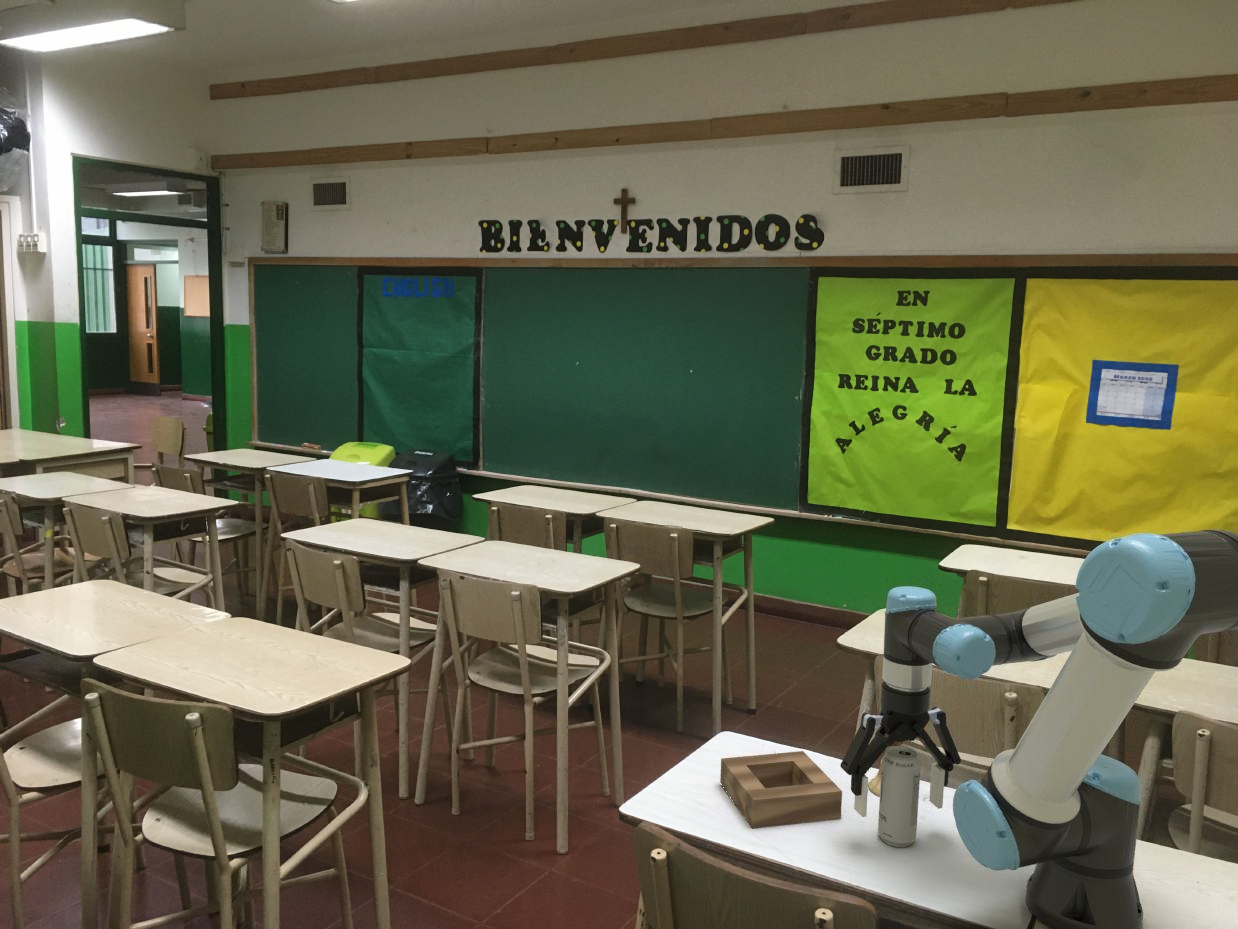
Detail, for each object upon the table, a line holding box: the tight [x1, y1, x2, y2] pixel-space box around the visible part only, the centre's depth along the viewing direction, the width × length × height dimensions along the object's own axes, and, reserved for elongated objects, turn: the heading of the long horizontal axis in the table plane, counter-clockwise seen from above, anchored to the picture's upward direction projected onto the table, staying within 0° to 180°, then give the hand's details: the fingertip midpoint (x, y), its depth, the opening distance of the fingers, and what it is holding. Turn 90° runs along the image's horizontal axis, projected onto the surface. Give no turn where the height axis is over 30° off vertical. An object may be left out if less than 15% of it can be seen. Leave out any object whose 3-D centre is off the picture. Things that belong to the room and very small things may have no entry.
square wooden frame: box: [719, 750, 843, 829], centre depth 170 cm, size 16×16×5 cm
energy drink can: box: [877, 745, 922, 848], centre depth 157 cm, size 6×6×15 cm
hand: (898, 808), depth 158 cm, fingers open, 13 cm apart
